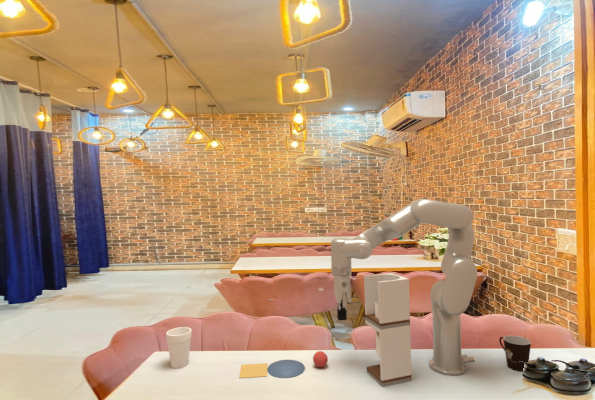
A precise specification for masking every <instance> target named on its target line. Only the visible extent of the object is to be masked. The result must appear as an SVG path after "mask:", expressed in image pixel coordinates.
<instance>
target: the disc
mask: <svg viewBox="0 0 595 400" xmlns="http://www.w3.org/2000/svg"><path fill="white" fill-rule="evenodd" d="M305 367H306V366H305V365H304V364H303V362H301V361H299V360H294V359H281V360H280V359H279V360H277V361H273V362H272V363H270V364H269V365H267V374H269V375H270V376H272V377H274V378H279V379H289V378H295V377H298V376H299V375H301V374H303V373H304V371H305V369H306V368H305Z"/></svg>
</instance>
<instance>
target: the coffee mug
mask: <svg viewBox="0 0 595 400" xmlns="http://www.w3.org/2000/svg"><path fill="white" fill-rule="evenodd" d="M502 339H503V343H502ZM498 341H499V344H500V346H501V347H502V349H503V351H504V353H505V359H506V366H507V367H508V368H509V369H510V370H513V371H515V372H523V368H524V363H523V362H528V361H530V356H531V355H530V354H531V345H532V342H531V341H532V340H530V339H528V338H526V337H524V336H519V335H505V336H500V337H499V340H498ZM519 361H523V362H519ZM523 373H524V372H523Z"/></svg>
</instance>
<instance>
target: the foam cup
mask: <svg viewBox="0 0 595 400" xmlns="http://www.w3.org/2000/svg"><path fill="white" fill-rule="evenodd" d="M192 331H193V330H192V328H190V327H187V326H182V327H181V326H179V327H174V328H170V329H168V330H167V331H166V333H165V338H166V342H167V347H168V348H167V349H168V353H169V360H170V365H171V366H172V367H173V368H172V369H182V368H185V367H187V366H188V365H189V361H190V360H189V359H190V352H191V350H190V349H191V341H192V340H191V339H192V337H193V336H192V335H193V334H192Z"/></svg>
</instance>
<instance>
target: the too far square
mask: <svg viewBox="0 0 595 400" xmlns="http://www.w3.org/2000/svg"><path fill="white" fill-rule="evenodd" d="M267 368H268V362H267V363H266V362H265V363H249V364H241V365H240V370H239V377H238V378H239V379H249V378H252V379H253V378H264V377H268V371H267Z"/></svg>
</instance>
